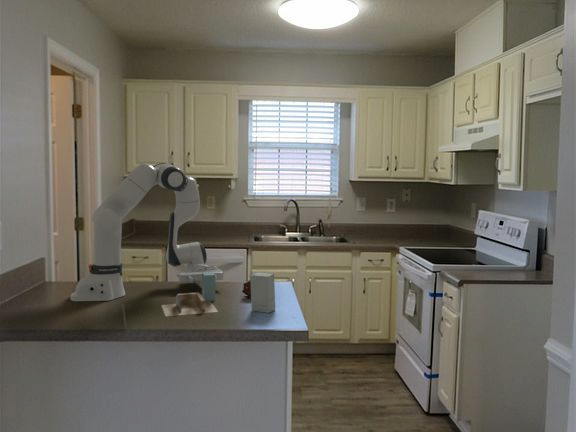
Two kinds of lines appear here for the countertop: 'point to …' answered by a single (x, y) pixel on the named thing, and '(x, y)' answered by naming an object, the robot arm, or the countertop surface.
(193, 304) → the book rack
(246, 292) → the dragon fruit
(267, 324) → the countertop surface
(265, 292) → the skincare box
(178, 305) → the metal bookend
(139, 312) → the countertop surface
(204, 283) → the book
